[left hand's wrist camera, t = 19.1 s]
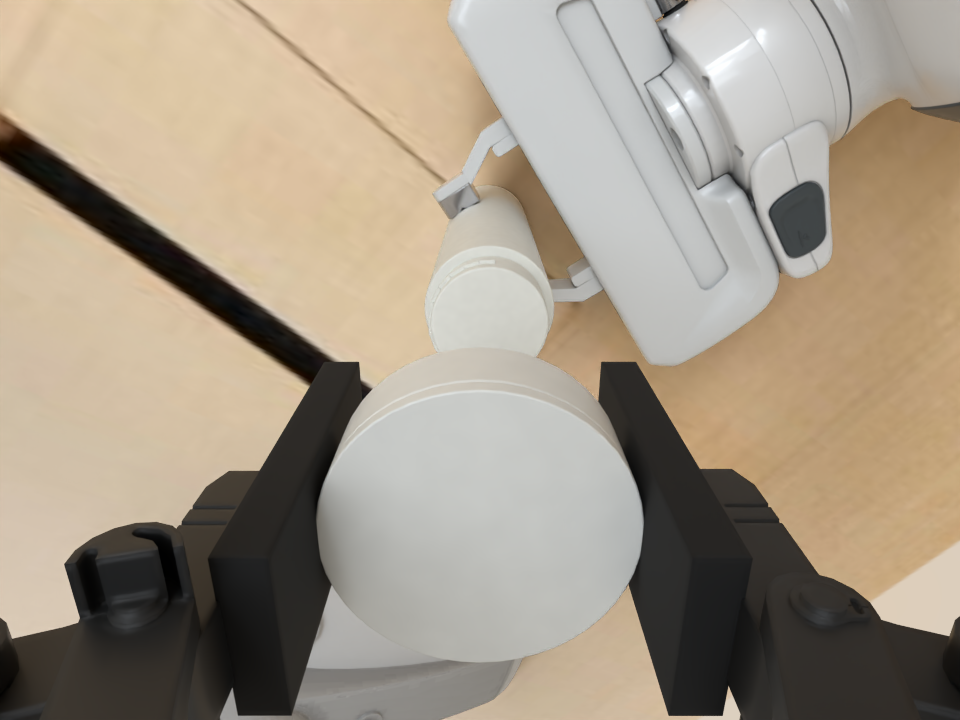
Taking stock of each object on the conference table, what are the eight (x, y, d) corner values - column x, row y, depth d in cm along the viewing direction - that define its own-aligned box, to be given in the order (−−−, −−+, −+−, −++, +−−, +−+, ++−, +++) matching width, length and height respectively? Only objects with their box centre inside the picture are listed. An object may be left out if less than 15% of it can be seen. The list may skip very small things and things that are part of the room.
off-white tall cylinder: (458, 177, 37) (433, 243, 20) (533, 194, 37) (575, 272, 20) (443, 252, 39) (409, 374, 21) (516, 268, 39) (540, 399, 22)
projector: (321, 740, 54) (265, 956, 40) (135, 543, 46) (-11, 726, 33) (557, 638, 49) (584, 842, 36) (393, 403, 42) (349, 547, 28)
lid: (410, 621, 14) (400, 697, 12) (287, 409, 12) (252, 462, 10) (656, 540, 13) (684, 610, 11) (565, 300, 11) (581, 338, 9)
